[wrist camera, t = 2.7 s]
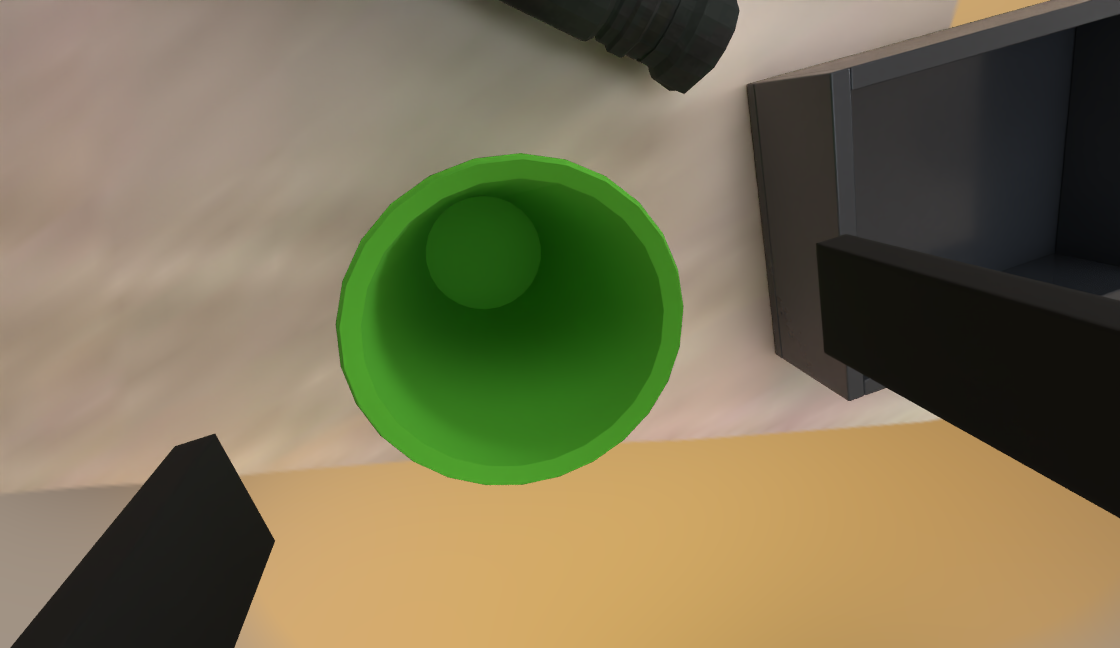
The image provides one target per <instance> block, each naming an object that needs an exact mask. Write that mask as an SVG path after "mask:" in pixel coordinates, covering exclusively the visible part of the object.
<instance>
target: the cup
mask: <svg viewBox="0 0 1120 648" xmlns="http://www.w3.org/2000/svg"><path fill="white" fill-rule="evenodd" d="M682 316H683V301H682V294H681V288H680V281H679V274H678V269H677V266H676V264H675V261H674V259H673V257H672V254H671V252H670V249H669V247H668V245H667V242H666V240H665V237H664V235H663V233H662V232H661V230H660V229H659V228H658V226H657V225H656V224H655V223H654V221H653V220H652V219H651V217H650V216H649V215H648V213H647V212H646V211H645V209H644V208H643V207H642V206H641V204H640V203H639V202H638V201H637V200H636V199H634V198H633V197H632V196H630V195H629V194H628V193H627V192H625V191H624V190H623V189H621V188H620V187H619V186H617V185H616V184H615V183H614V182H612V181H611V180H610V179H608V178H607V177H606V176H604V175H601V174H599V173H596V172H594V171H592V170H589V169H587V168H584V167H582V166H580V165H577V164H575V163H572V162H570V161H568V160H565V159H558V158H551V157H544V156H536V155H529V154H522V153H519V154H510V155H502V156H493V157H484V158H476V159H472V160H469V161H467V162H464V163H462V164H459V165H456V166H454V167H451V168H449V169H446V170H444V171H441V172H438V173H436V174H433V175H431V176H429V177H427V178H426V179H425V180H423V181H422V182H420V183H419V184H418V185H416V186H415V187H413V188H412V189H411V190H409V191H408V192H407V193H405V194H404V195H402V196H401V197H400V198H398V199H397V200H395V201H394V202H393V203H391V204H390V205H389V207H388V208H387V209H386V210H385V212H384V213H383V214H382V215H381V216H380V218H379V219H378V220H377V221H376V222H375V224H374V225H373V226H372V227H371V229H370V230H369V231H368V232H367V233H366V235H365V236H364V237H363V238H362V239H361V241H360V244H359V246H358V248H357V250H356V252H355V255H354V257H353V259H352V261H351V263H350V266H349V268H348V270H347V272H346V275H345V277H344V279H343V281H342V288H341V294H340V300H339V307H338V313H337V320H336V331H337V339H338V348H339V356H340V365H341V368H342V371H343V373H344V375H345V378H346V380H347V383H348V385H349V388H350V390H351V393H352V395H353V397H354V400H355V402H356V404H357V406H358V407H359V408H360V410H361V411H362V412H363V413H364V415H365V416H366V417H367V419H368V420H369V421H370V423H371V424H372V425H373V427H374V428H375V429H376V431H377V432H378V433H379V434H380V436H382V437H383V438H384V439H385V440H387V441H388V442H389V443H391V444H392V445H393V446H394V447H396V448H397V449H398V450H399V451H401V452H402V453H403V454H404V455H406V456H407V457H408V458H410V459H411V460H412V461H414V462H416V463H418V464H420V465H422V466H425V467H427V468H429V469H431V470H433V471H436V472H438V473H440V474H442V475H444V476H447V477H450V478H454V479H459V480H464V481H469V482H473V483H478V484H484V485H523V484H527V483H532V482H536V481H541V480H546V479H550V478H555V477H559V476H562V475H564V474H566V473H568V472H570V471H573V470H575V469H578V468H580V467H582V466H584V465H587V464H589V463H591V462H593V461H595V460H596V459H598V458H599V457H600V456H602V455H603V454H605V453H606V452H607V451H609V450H610V449H612V448H613V447H615V446H616V445H617V444H619V443H620V442H622V441H623V440H624V439H625V438H626V437H627V436H628V435H629V434H630V433H631V432H632V431H633V430H634V429H635V427H636V426H637V425H638V424H639V423H640V422H641V421H642V420H643V419H644V418H645V417H646V416H647V415H648V414H649V412H650V410H651V409H652V407H653V405H654V404H655V402H656V400H657V399H658V397H659V396H660V394H661V392H662V391H663V389H664V387H665V386H666V384H667V382H668V380H669V377H670V374H671V371H672V368H673V365H674V362H675V359H676V356H677V353H678V350H679V347H680V337H681V327H682Z"/></svg>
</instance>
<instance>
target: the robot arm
mask: <svg viewBox="0 0 1120 648" xmlns="http://www.w3.org/2000/svg"><path fill="white" fill-rule="evenodd" d="M816 255H817V268H818V281H819V293H820V306H821V319H822V332H823V344H824V353H825V354H827V355H829V356H831V357H833V358H834V359H836V360H838V361H840V362H842V363H843V364H845V365H847V366H849V367H850V368H852V369H854V370H856V371H858V372H859V373H861V374H863V375H865V376H867V377H868V378H870V379H872V380H874V381H876V382H877V383H879V384H881V385H883V386H884V387H886V388H888V389H890V390H892V391H893V392H895V393H897V394H899V395H901V396H902V397H904V398H906V399H908V400H909V401H911V402H913V403H915V404H917V405H918V406H920V407H922V408H924V409H926V410H927V411H929V412H931V413H933V414H934V415H936V416H938V417H940V418H942V419H943V420H945V421H947V422H949V423H951V424H952V425H954V426H956V427H958V428H960V429H961V430H963V431H965V432H967V433H968V434H970V435H972V436H974V437H976V438H978V439H979V440H981V441H983V442H985V443H987V444H988V445H990V446H992V447H994V448H995V449H997V450H999V451H1001V452H1002V453H1004V454H1006V455H1008V456H1010V457H1012V458H1013V459H1015V460H1017V461H1019V462H1020V463H1022V464H1024V465H1026V466H1028V467H1029V468H1031V469H1033V470H1035V471H1036V472H1038V473H1040V474H1042V475H1044V476H1045V477H1047V478H1049V479H1051V480H1052V481H1055V482H1056V483H1058V484H1060V485H1062V486H1063V487H1065V488H1067V489H1069V490H1070V491H1072V492H1074V493H1076V494H1078V495H1079V496H1081V497H1083V498H1085V499H1086V500H1088V501H1090V502H1092V503H1094V504H1095V505H1097V506H1099V507H1101V508H1103V509H1104V510H1106V511H1108V512H1110V513H1112V514H1113V515H1115V516H1117V517H1119V518H1120V300H1115V299H1111V298H1107V297H1103V296H1099V295H1095V294H1091V293H1087V292H1083V291H1078V290H1074V289H1070V288H1066V287H1062V286H1058V285H1054V284H1050V283H1046V282H1042V281H1037V280H1033V279H1029V278H1025V277H1021V276H1017V275H1013V274H1009V273H1005V272H1000V271H996V270H992V269H988V268H984V267H980V266H976V265H972V264H968V263H964V262H959V261H955V260H951V259H947V258H943V257H939V256H935V255H931V254H927V253H922V252H918V251H914V250H910V249H906V248H902V247H898V246H894V245H890V244H886V243H881V242H877V241H873V240H869V239H865V238H861V237H857V236H853V235H849V234H844V235H841V236H838V237H835V238H832V239H828V240H825V241H822V242H819V243H816ZM274 542H275V540H274V538H273V537H272V535H271V533H270V531H269V529H268V527H267V526H266V524H265V522H264V520H263V519H262V517H261V515H260V513H259V511H258V509H257V508H256V506H255V504H254V502H253V501H252V499H251V497H250V495H249V493H248V492H247V490H246V488H245V486H244V484H243V483H242V481H241V479H240V477H239V475H238V474H237V472H236V470H235V468H234V467H233V465H232V463H231V461H230V459H229V458H228V456H227V454H226V452H225V450H224V449H223V447H222V445H221V443H220V442H219V440H218V438H217V436H216V434H212V435H209V436H206V437H203V438H200V439H197V440H193V441H190V442H187V443H184V444H181V445H178V446H175V447H174V448H173V449H172V450H171V452H170V453H169V454H168V455H167V457H166V458H165V459H164V460H163V461H162V463H161V464H160V465H159V466H158V468H157V469H156V470H155V471H154V473H153V474H152V475H151V476H150V477H149V479H148V480H147V481H146V482H145V484H144V485H143V486H142V487H141V489H140V490H139V491H138V492H137V493H136V495H135V496H134V497H133V498H132V500H131V501H130V502H129V503H128V504H127V506H126V507H125V508H124V509H123V511H122V512H121V513H120V514H119V515H118V517H117V518H116V519H115V520H114V522H113V523H112V524H111V525H110V526H109V528H108V529H107V530H106V531H105V533H104V534H103V535H102V536H101V537H100V539H99V540H98V541H97V542H96V544H95V545H94V546H93V547H92V549H91V550H90V551H89V552H88V553H87V555H86V556H85V557H84V558H83V559H82V561H81V562H80V563H79V564H78V566H77V567H76V568H75V569H74V571H73V572H72V573H71V574H70V576H69V577H68V578H67V579H66V580H65V582H64V583H63V584H62V585H61V586H60V588H59V589H58V590H57V592H56V593H55V594H54V595H53V596H52V597H51V599H50V600H49V601H48V602H47V604H46V605H45V606H44V607H43V609H42V610H41V611H40V612H39V613H38V615H37V616H36V617H35V618H34V619H33V621H32V622H31V623H30V624H29V626H28V627H27V628H26V629H25V630H24V632H23V633H22V634H21V635H20V637H19V638H18V639H17V640H16V642H15V643H14V644H13V645H12V647H11V648H234V647H235V644H236V642H237V639H238V637H239V634H240V631H241V629H242V626H243V623H244V621H245V618H246V616H247V613H248V610H249V608H250V605H251V602H252V600H253V597H254V595H255V592H256V589H257V587H258V584H259V581H260V579H261V576H262V574H263V571H264V568H265V566H266V563H267V561H268V558H269V555H270V553H271V550H272V548H273V545H274Z"/></svg>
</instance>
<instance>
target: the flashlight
mask: <svg viewBox="0 0 1120 648" xmlns="http://www.w3.org/2000/svg"><path fill="white" fill-rule="evenodd" d="M500 1H502V2H504V3H506V4H508V5H510V6H512V7H514V8H516V9H518V10H520V11H522V12H524V13H526V14H528V15H530V16H532V17H534V18H537V19H539V20H541V21H543V22H545V23H547V24H549V25H551V26H553V27H555V28H557V29H559V30H561V31H563V32H565V33H567V34H569V35H571V36H573V37H575V38H577V39H580V40H582V41H587V40H589V39H591V38H593V37H594V36H595V39H596V41H598V42H600V43H602V44H604V45H605V47H606V50H607V52H609V53H612V54H614V55H616V56H618V57H620V58H622V57H623V56H625V55H626V56H628V57H630V58H632V59H636V60H637V61H638V62H640V63H643V64H645V65H647V66H648V68H649V72H650V75H651V78H653V79H654V80H655V81H657V82H658V83H660V84H661V85H662V86H664V87H665V88H666V89H668V90H669V91H679V92H681V93H683V94H685V93H686V92H687V91H688V90H689V89H690V88H692V87H693V86H694V85H695V84H696V83H697V82H698V81H700V80H701V79H702V78H703V77H704V76H705V75H706V74H708V73H709V72H710V71H711V70H712V69H713V68H714V67H715V65H716V64H717V62H718V61H719V59H720V58H721V56H722V54H723V53H724V51H725V50H726V47H727V45H728V43H729V41H730V39H731V37H732V35H733V33H734V31H735V28H736V23H737V19H738V15H739V7H738V4H737V0H500Z"/></svg>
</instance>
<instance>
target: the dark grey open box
mask: <svg viewBox="0 0 1120 648" xmlns="http://www.w3.org/2000/svg"><path fill="white" fill-rule="evenodd" d="M747 91H748V100H749V109H750V119H751V128H752V137H753V146H754V155H755V165H756V174H757V183H758V192H759V201H760V211H761V220H762V229H763V238H764V247H765V257H766V266H767V275H768V284H769V293H770V303H771V312H772V321H773V330H774V339H775V348H776V354H777V355H778V356H780V357H781V358H783V359H784V360H786V361H787V362H789V363H791V364H792V365H794V366H795V367H797V368H798V369H800V370H801V371H803V372H804V373H806V374H808V375H809V376H811V377H812V378H814V379H815V380H817V381H818V382H820V383H821V384H823V385H825V386H826V387H828V388H829V389H831V390H832V391H834V392H835V393H837V394H839V395H840V396H842V397H843V398H845V399H846V400H848V401H851V400H854V399H857V398H859V397H862V396H864V395H867V394H870V393H873V392H876V391H878V390H881V389H884V388H886V387H884V386H883V385H881V384H879V383H877V382H876V381H874V380H872V379H870V378H868V377H867V376H865V375H863V374H861V373H859V372H858V371H856V370H854V369H852V368H850V367H849V366H847V365H845V364H843V363H842V362H840V361H838V360H836V359H834V358H833V357H831V356H829V355H827V354H825V353H824V344H823V332H822V319H821V306H820V293H819V281H818V268H817V255H816V243H819V242H822V241H825V240H828V239H832V238H835V237H838V236H841V235H844V234H849V235H853V236H857V237H861V238H865V239H869V240H873V241H877V242H881V243H886V244H890V245H894V246H898V247H902V248H906V249H910V250H914V251H918V252H922V253H927V254H931V255H935V256H939V257H943V258H947V259H951V260H955V261H959V262H964V263H968V264H972V265H976V266H980V267H984V268H988V269H992V270H996V271H1000V272H1005V273H1009V274H1013V275H1017V276H1021V277H1025V278H1029V279H1033V280H1037V281H1042V282H1046V283H1050V284H1054V285H1058V286H1062V287H1066V288H1070V289H1074V290H1078V291H1083V292H1087V293H1091V294H1095V295H1099V296H1103V297H1107V298H1111V299H1115V300H1120V0H1050V1H1047V2H1043V3H1040V4H1036V5H1032V6H1028V7H1025V8H1021V9H1018V10H1015V11H1011V12H1007V13H1003V14H999V15H996V16H992V17H989V18H985V19H982V20H978V21H974V22H970V23H967V24H963V25H960V26H956V27H952V28H949V29H945V30H941V31H938V32H934V33H931V34H927V35H923V36H920V37H916V38H912V39H909V40H905V41H902V42H898V43H894V44H891V45H887V46H883V47H880V48H876V49H872V50H869V51H865V52H862V53H858V54H854V55H851V56H847V57H843V58H840V59H836V60H833V61H829V62H825V63H822V64H818V65H814V66H811V67H807V68H804V69H800V70H796V71H793V72H789V73H785V74H782V75H778V76H775V77H771V78H767V79H764V80H760V81H756V82H753V83H749V84H747Z"/></svg>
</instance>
